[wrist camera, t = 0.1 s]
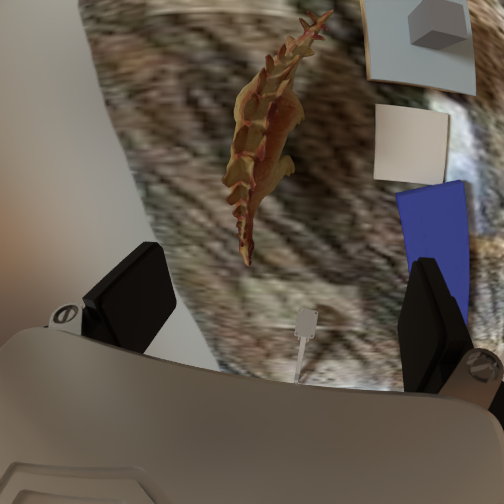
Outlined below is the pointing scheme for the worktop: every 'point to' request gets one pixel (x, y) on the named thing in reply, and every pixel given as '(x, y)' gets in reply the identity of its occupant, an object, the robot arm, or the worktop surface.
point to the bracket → (304, 334)
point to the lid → (422, 43)
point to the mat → (410, 144)
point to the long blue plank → (439, 233)
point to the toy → (266, 130)
